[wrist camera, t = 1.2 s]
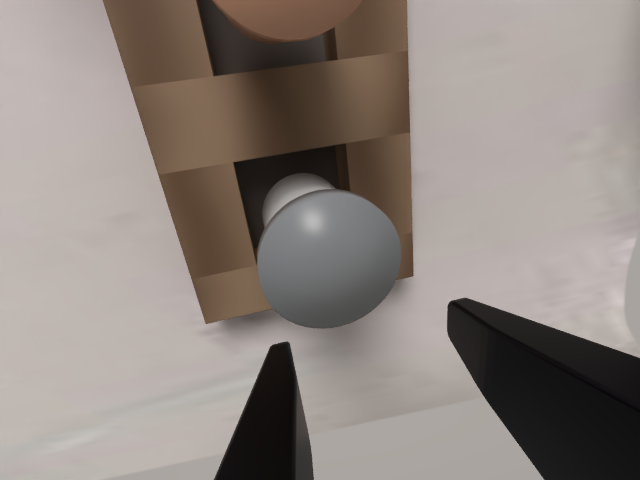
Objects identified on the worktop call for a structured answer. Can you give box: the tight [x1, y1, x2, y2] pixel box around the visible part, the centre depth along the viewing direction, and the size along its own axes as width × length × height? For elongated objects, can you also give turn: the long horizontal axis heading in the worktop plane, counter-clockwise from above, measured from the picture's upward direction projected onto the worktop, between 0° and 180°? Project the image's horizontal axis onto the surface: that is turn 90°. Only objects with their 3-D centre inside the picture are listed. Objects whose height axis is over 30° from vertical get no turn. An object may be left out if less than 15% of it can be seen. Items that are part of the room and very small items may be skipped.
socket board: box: [103, 0, 413, 324], centre depth 17 cm, size 12×20×2 cm, turn 7°
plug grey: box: [257, 173, 401, 328], centre depth 14 cm, size 5×5×6 cm
